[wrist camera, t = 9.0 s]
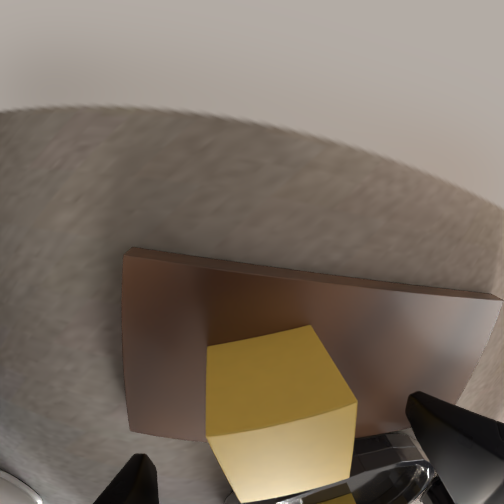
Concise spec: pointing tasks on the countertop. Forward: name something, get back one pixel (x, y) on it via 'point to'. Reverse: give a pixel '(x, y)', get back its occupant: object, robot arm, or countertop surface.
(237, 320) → the board
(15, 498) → the flower vase
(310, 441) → the cheese front
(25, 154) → the countertop surface
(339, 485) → the pan
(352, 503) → the cheese back
